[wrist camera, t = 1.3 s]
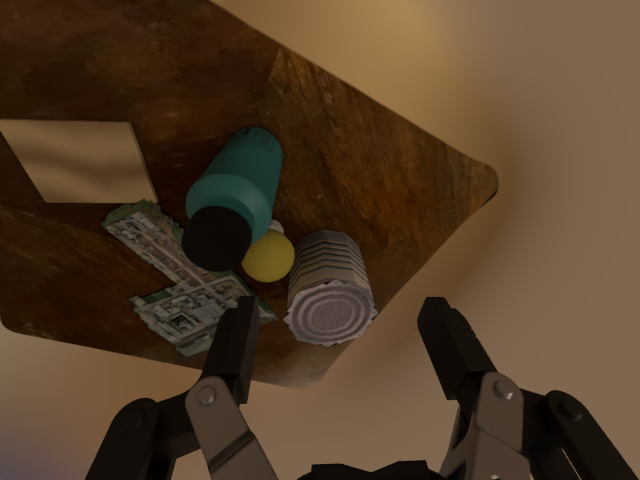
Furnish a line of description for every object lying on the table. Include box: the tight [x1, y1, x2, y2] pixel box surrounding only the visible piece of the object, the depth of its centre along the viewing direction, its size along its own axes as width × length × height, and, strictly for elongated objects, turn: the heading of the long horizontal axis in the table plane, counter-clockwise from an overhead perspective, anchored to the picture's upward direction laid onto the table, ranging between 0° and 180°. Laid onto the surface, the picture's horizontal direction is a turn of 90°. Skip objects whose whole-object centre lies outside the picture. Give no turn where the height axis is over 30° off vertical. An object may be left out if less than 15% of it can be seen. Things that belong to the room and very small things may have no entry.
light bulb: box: [241, 220, 294, 282], centre depth 35 cm, size 7×7×10 cm
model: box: [100, 199, 278, 357], centre depth 44 cm, size 21×30×2 cm
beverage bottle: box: [181, 126, 284, 272], centre depth 24 cm, size 6×7×20 cm
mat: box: [0, 119, 158, 203], centre depth 32 cm, size 10×14×1 cm
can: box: [284, 230, 378, 347], centre depth 38 cm, size 11×11×12 cm
